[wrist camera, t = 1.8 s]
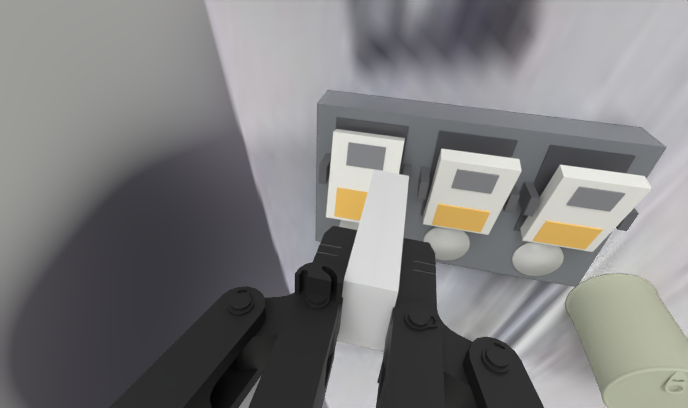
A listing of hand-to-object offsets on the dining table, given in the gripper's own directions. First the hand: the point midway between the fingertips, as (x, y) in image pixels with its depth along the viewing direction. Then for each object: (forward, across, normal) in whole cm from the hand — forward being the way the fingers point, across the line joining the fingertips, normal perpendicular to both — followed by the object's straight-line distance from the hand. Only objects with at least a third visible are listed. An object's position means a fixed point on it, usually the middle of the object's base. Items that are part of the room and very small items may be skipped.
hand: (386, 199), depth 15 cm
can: (+21, +28, -22) cm, 41 cm away
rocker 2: (+14, +16, -7) cm, 22 cm away
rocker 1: (+14, -2, -7) cm, 16 cm away
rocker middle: (+14, +7, -7) cm, 17 cm away
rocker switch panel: (+21, +7, -10) cm, 24 cm away
